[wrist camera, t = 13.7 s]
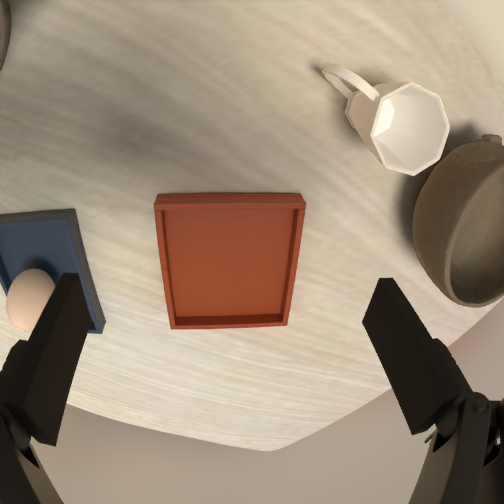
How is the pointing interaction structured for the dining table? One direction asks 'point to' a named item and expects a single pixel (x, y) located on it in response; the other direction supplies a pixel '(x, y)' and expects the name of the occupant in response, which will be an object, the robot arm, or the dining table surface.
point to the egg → (28, 298)
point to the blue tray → (47, 252)
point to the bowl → (464, 223)
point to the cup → (394, 120)
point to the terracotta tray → (228, 257)
